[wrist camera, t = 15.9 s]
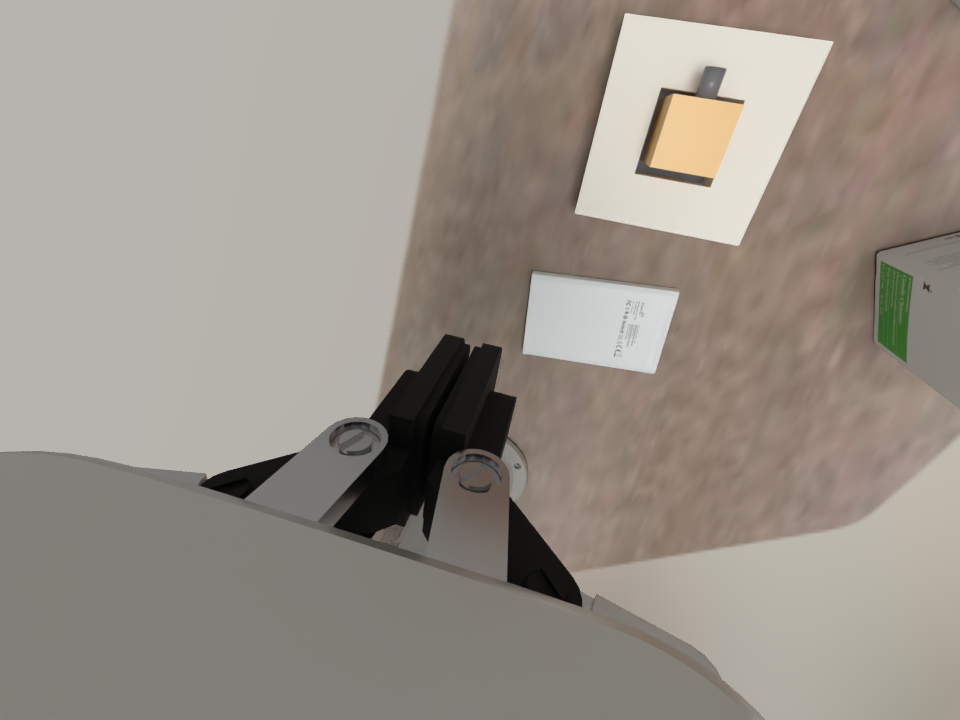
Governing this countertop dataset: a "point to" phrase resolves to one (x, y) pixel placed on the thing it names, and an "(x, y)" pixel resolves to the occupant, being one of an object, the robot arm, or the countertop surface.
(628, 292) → the external hard drive
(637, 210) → the socket
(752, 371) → the countertop surface
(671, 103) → the plug
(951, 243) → the skincare box
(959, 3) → the glass holder
